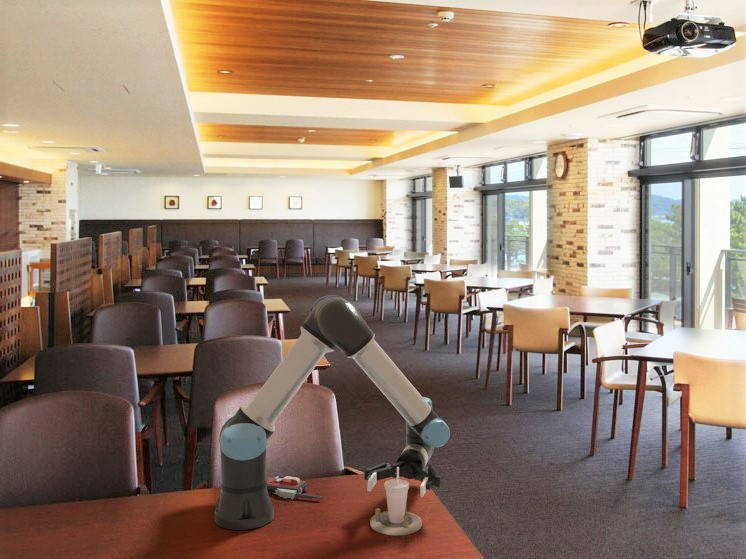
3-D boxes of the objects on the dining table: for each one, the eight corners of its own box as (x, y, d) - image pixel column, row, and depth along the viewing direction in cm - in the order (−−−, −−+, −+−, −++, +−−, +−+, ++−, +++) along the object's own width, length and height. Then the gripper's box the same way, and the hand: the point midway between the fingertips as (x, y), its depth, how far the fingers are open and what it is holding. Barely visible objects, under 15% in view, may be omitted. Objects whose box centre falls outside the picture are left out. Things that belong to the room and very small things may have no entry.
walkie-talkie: (254, 496, 201) (320, 504, 195) (254, 480, 201) (320, 488, 195) (267, 485, 209) (331, 493, 204) (267, 470, 209) (331, 478, 203)
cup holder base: (360, 528, 179) (360, 513, 178) (385, 510, 190) (385, 496, 190) (407, 539, 172) (407, 523, 172) (430, 520, 184) (430, 505, 183)
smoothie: (391, 527, 177) (391, 472, 176) (379, 518, 182) (379, 464, 181) (413, 522, 180) (414, 468, 179) (401, 513, 185) (401, 460, 184)
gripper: (456, 478, 196) (444, 508, 175) (368, 470, 202) (347, 498, 182) (456, 452, 195) (444, 478, 175) (369, 445, 202) (347, 469, 181)
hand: (395, 488), depth 178 cm, fingers open, 13 cm apart
